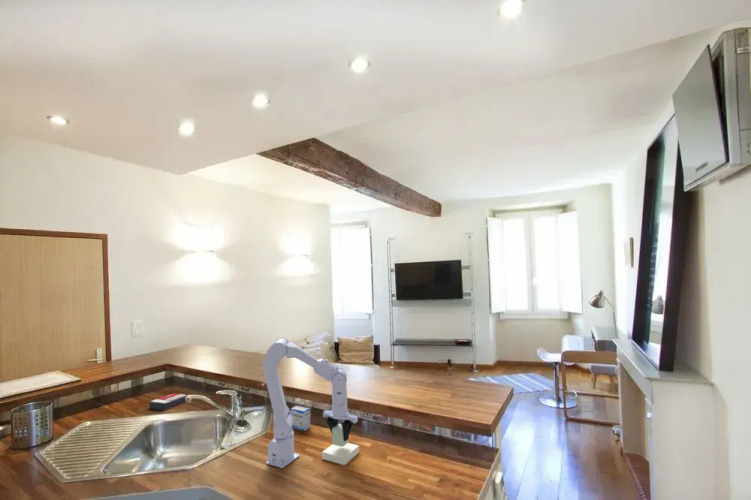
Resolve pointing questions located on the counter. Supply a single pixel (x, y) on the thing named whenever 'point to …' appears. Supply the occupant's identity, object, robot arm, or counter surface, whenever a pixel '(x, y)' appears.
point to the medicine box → (301, 418)
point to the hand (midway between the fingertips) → (340, 438)
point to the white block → (340, 453)
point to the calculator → (167, 402)
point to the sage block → (338, 436)
